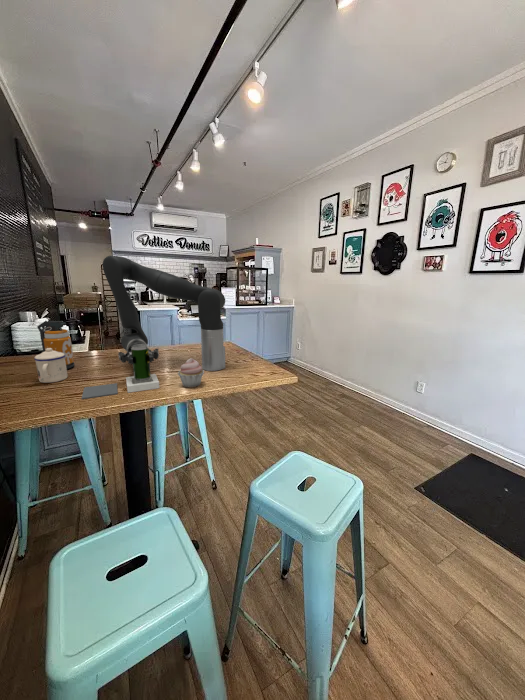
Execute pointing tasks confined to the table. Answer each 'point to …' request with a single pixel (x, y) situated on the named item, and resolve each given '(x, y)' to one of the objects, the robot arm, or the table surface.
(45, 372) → the teacup with lid
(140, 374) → the beer can
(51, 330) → the canister
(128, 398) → the table surface
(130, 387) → the collar
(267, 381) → the table surface
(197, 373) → the cupcake
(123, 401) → the table surface
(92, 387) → the mat
